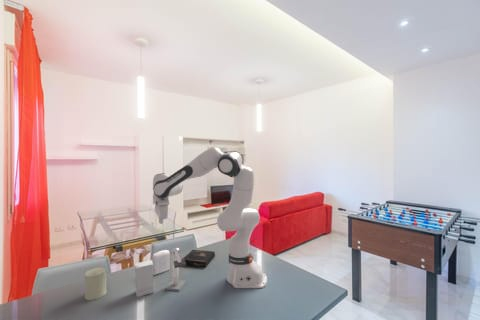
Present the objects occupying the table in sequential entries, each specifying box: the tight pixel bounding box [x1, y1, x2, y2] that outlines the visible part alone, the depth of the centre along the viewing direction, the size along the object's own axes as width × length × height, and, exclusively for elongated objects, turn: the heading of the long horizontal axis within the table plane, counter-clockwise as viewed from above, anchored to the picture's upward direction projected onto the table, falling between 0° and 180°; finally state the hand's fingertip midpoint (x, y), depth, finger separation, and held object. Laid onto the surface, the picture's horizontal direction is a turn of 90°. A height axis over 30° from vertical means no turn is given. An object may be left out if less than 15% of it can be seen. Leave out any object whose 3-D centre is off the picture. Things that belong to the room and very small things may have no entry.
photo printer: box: [151, 249, 171, 276], centre depth 135 cm, size 10×4×12 cm, turn 134°
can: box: [84, 266, 108, 301], centre depth 112 cm, size 9×9×12 cm
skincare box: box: [134, 259, 155, 298], centre depth 114 cm, size 8×6×15 cm
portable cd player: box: [181, 249, 216, 269], centre depth 149 cm, size 16×17×4 cm
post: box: [164, 254, 187, 292], centre depth 119 cm, size 8×8×18 cm
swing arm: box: [171, 246, 187, 268], centre depth 111 cm, size 21×5×2 cm, turn 23°
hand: (160, 223), depth 135 cm, fingers closed
